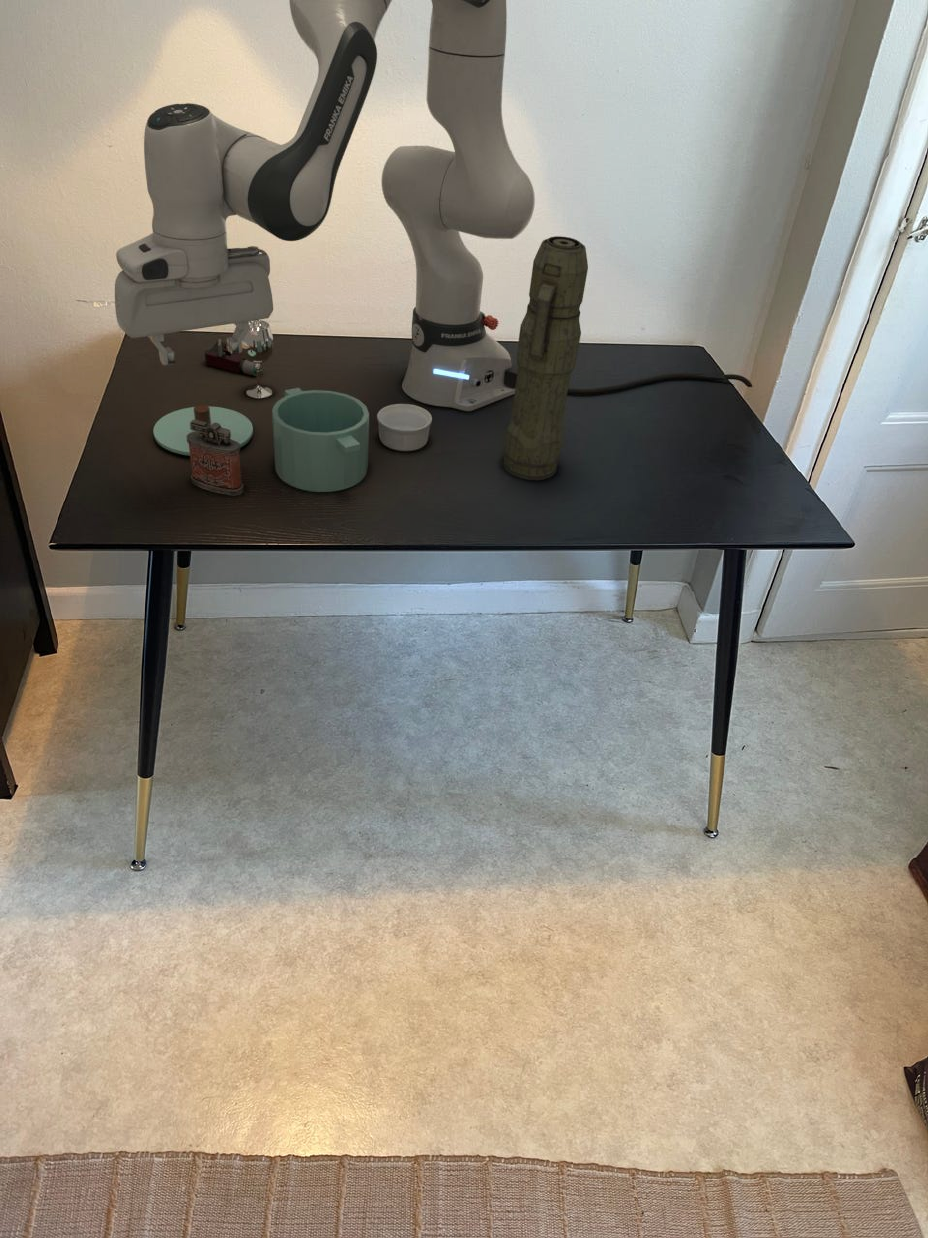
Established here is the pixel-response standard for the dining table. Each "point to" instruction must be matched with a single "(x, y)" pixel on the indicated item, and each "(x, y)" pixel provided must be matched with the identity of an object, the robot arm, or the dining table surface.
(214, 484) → the lighter
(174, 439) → the lid
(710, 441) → the dining table surface
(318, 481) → the pot
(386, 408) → the ramekin
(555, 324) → the thermos
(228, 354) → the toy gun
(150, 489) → the dining table surface
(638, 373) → the dining table surface
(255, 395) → the wineglass
